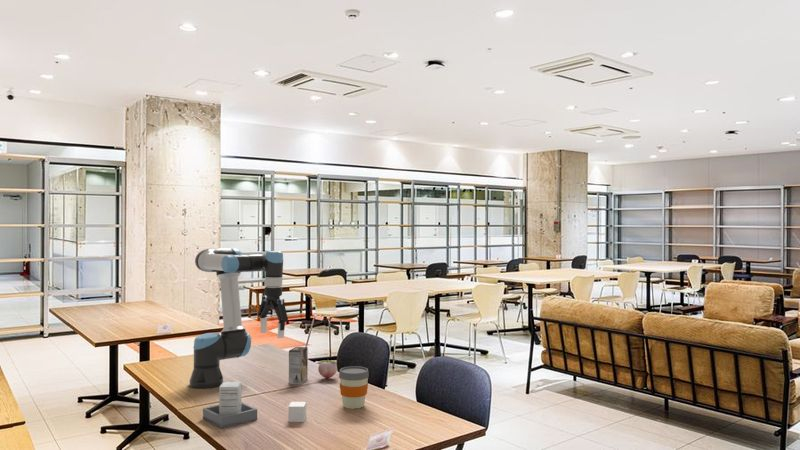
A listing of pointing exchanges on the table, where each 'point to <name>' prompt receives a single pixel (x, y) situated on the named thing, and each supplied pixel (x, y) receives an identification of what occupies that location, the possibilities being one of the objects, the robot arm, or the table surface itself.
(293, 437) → the table surface
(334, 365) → the decorative fruit
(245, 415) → the tray
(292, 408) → the white cube
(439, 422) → the table surface
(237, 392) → the supplement box
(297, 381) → the coffee box
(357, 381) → the reusable coffee cup
